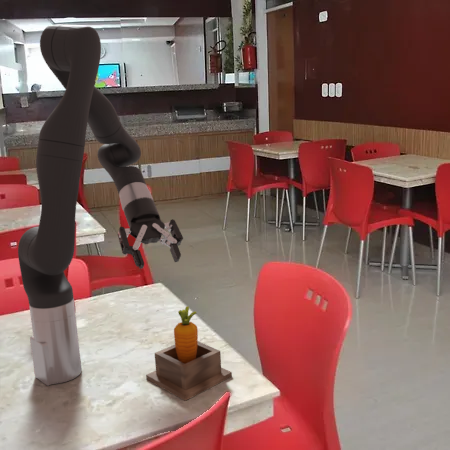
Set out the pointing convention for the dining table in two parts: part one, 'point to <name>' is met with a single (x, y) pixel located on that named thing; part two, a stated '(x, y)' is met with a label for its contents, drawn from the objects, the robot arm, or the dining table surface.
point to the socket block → (188, 371)
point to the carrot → (186, 337)
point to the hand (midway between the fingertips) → (160, 263)
